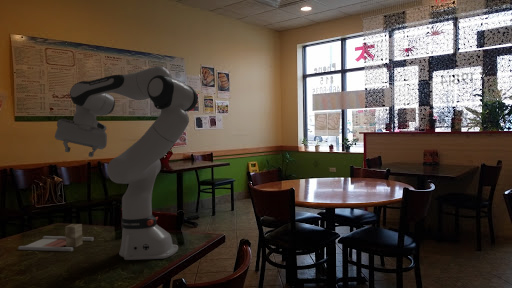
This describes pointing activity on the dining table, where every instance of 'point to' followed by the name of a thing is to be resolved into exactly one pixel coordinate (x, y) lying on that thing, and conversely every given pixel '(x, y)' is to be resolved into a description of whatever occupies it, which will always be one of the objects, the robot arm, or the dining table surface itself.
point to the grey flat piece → (51, 244)
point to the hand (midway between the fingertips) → (79, 154)
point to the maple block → (73, 235)
